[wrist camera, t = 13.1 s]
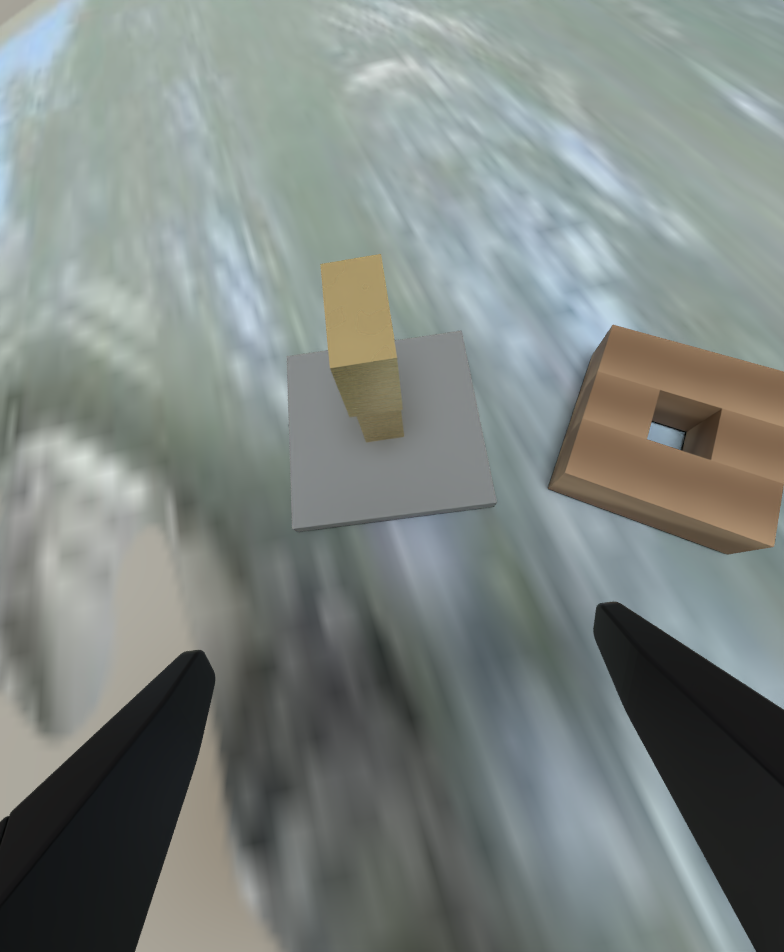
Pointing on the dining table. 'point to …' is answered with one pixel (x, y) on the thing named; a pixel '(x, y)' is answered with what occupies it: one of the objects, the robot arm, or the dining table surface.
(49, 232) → the dining table surface
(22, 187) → the dining table surface
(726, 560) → the dining table surface
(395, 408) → the t key
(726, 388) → the slot block
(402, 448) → the mat
